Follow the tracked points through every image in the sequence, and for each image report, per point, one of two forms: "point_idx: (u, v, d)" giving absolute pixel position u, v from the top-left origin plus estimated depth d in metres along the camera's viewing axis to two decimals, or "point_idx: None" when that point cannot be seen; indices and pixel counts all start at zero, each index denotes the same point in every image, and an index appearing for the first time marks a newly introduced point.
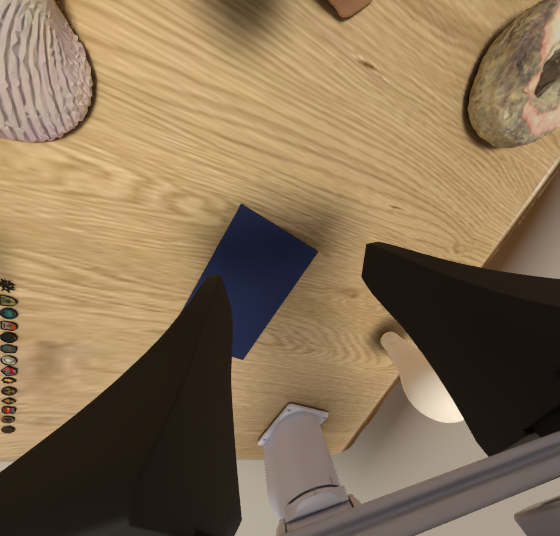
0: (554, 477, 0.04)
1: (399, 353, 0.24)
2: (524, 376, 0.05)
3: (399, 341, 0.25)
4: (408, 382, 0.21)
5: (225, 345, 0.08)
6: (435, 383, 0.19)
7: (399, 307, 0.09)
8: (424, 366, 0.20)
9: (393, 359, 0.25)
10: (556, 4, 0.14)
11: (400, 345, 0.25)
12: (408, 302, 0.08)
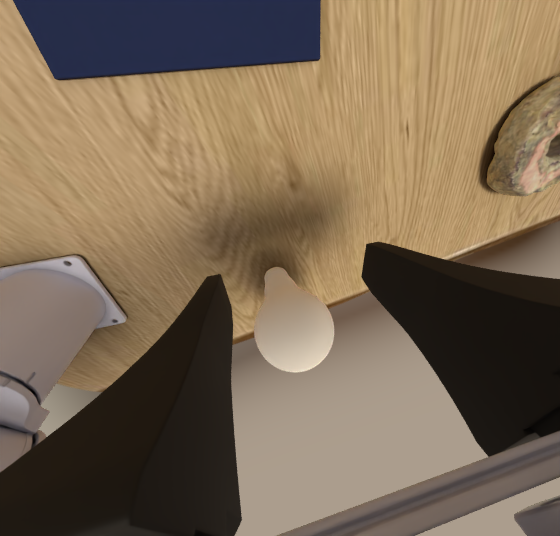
0: (554, 477, 0.04)
1: (282, 282, 0.18)
2: (524, 376, 0.05)
3: (288, 277, 0.19)
4: (275, 300, 0.14)
5: (225, 345, 0.08)
6: (307, 309, 0.13)
7: (399, 307, 0.09)
8: (306, 293, 0.15)
9: (269, 287, 0.18)
10: None
11: (288, 278, 0.19)
12: (408, 302, 0.08)
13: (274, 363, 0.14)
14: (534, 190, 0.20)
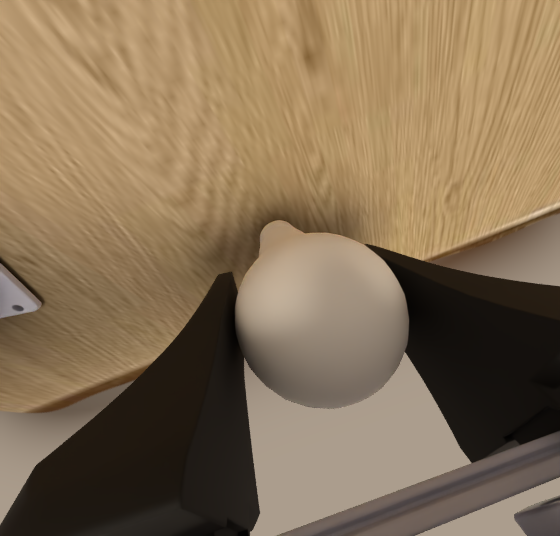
0: (554, 477, 0.04)
1: (289, 233, 0.10)
2: (503, 383, 0.05)
3: (299, 231, 0.12)
4: (279, 247, 0.07)
5: (238, 342, 0.08)
6: (357, 261, 0.05)
7: None
8: (343, 237, 0.07)
9: (266, 244, 0.10)
10: None
11: (299, 231, 0.11)
12: None
13: (277, 390, 0.06)
14: None
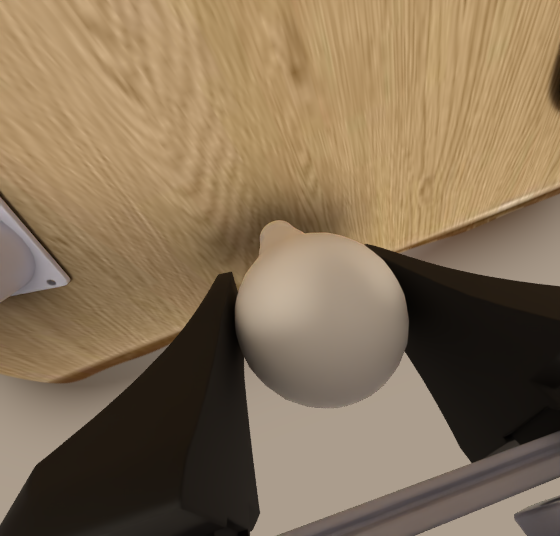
0: (554, 477, 0.04)
1: (289, 233, 0.10)
2: (503, 383, 0.05)
3: None
4: (279, 247, 0.07)
5: (238, 342, 0.08)
6: (357, 261, 0.06)
7: None
8: (343, 237, 0.07)
9: (266, 244, 0.10)
10: None
11: (299, 231, 0.11)
12: None
13: (277, 390, 0.06)
14: None
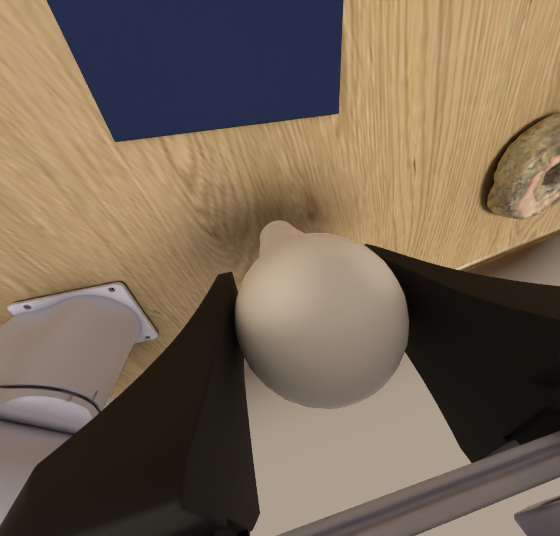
0: (554, 477, 0.04)
1: (289, 234, 0.10)
2: (503, 383, 0.05)
3: (300, 232, 0.12)
4: (279, 247, 0.07)
5: (238, 342, 0.08)
6: (357, 262, 0.06)
7: None
8: (344, 237, 0.07)
9: (266, 244, 0.10)
10: None
11: (299, 231, 0.11)
12: None
13: (277, 390, 0.06)
14: (531, 214, 0.22)
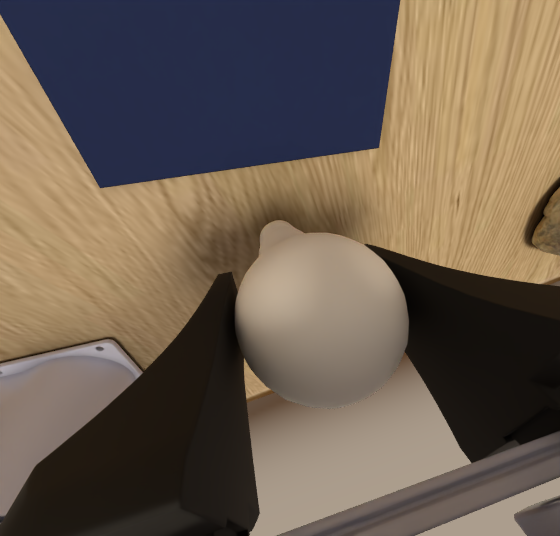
0: (554, 477, 0.04)
1: (289, 233, 0.10)
2: (503, 383, 0.05)
3: (299, 231, 0.12)
4: (279, 247, 0.07)
5: None
6: (357, 261, 0.06)
7: None
8: (343, 237, 0.07)
9: (266, 244, 0.10)
10: None
11: (299, 231, 0.11)
12: None
13: (277, 390, 0.06)
14: None
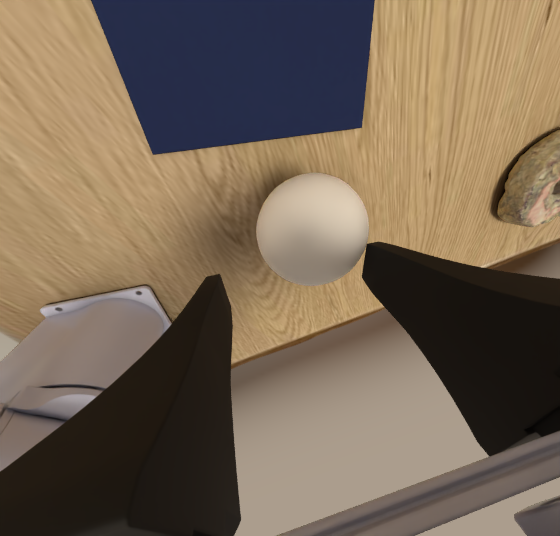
0: (554, 477, 0.04)
1: None
2: (525, 376, 0.05)
3: None
4: (286, 180, 0.10)
5: (224, 345, 0.08)
6: (334, 182, 0.09)
7: (400, 307, 0.09)
8: None
9: None
10: None
11: None
12: (409, 302, 0.08)
13: (285, 263, 0.09)
14: (540, 222, 0.23)
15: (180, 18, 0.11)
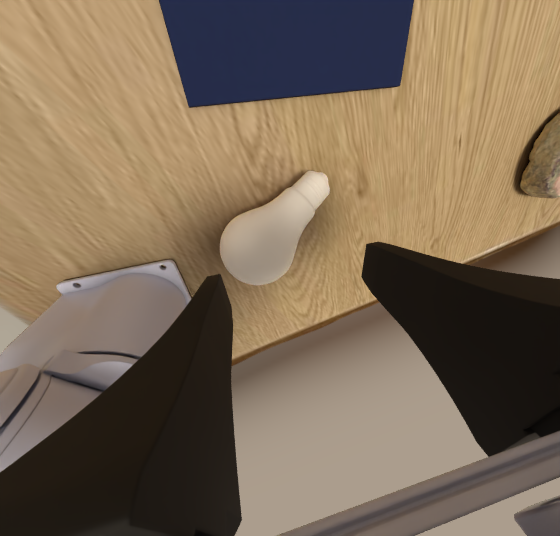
0: (554, 477, 0.04)
1: (289, 209, 0.15)
2: (524, 376, 0.05)
3: (311, 206, 0.15)
4: (245, 229, 0.14)
5: (225, 345, 0.08)
6: (249, 264, 0.14)
7: (399, 307, 0.09)
8: (270, 251, 0.14)
9: (281, 197, 0.15)
10: None
11: (304, 209, 0.15)
12: (408, 302, 0.08)
13: None
14: None
15: None
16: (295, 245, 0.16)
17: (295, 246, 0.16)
